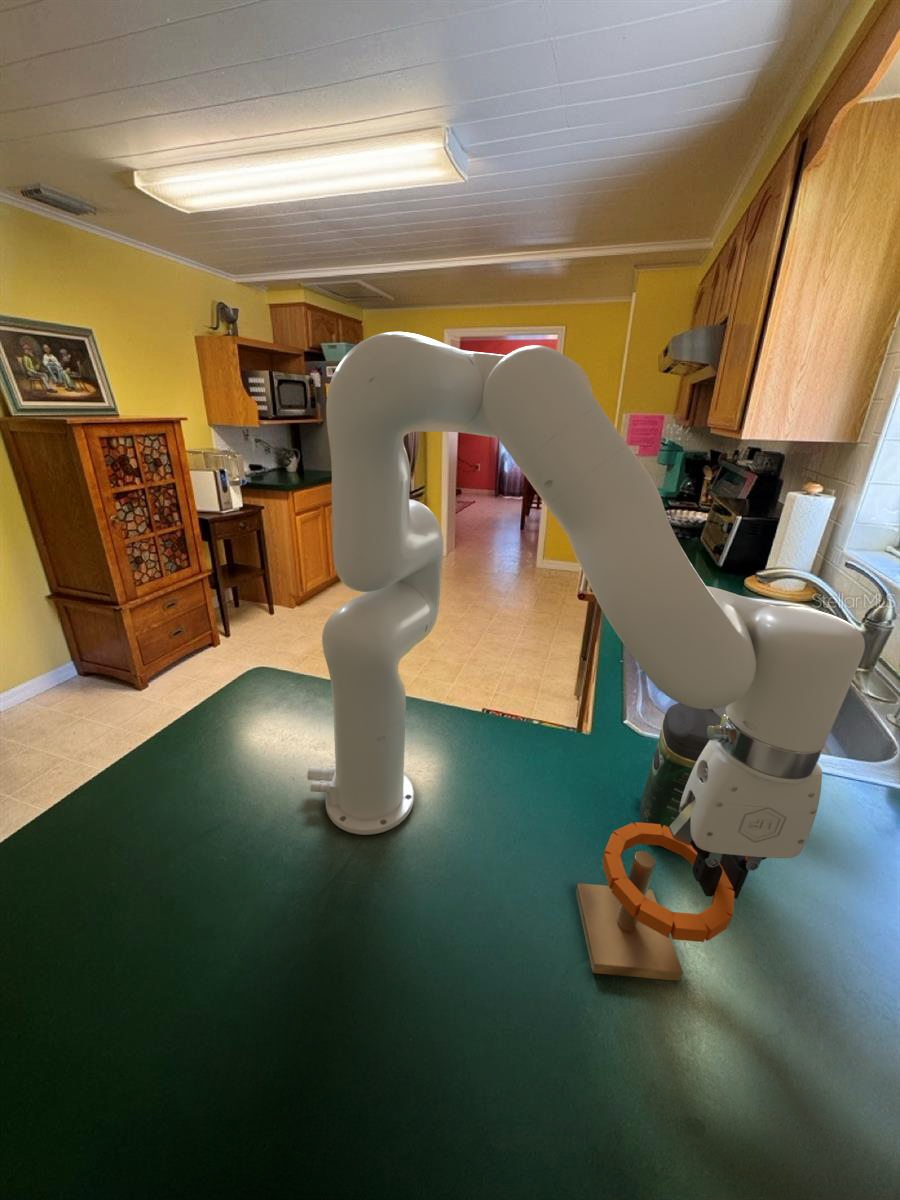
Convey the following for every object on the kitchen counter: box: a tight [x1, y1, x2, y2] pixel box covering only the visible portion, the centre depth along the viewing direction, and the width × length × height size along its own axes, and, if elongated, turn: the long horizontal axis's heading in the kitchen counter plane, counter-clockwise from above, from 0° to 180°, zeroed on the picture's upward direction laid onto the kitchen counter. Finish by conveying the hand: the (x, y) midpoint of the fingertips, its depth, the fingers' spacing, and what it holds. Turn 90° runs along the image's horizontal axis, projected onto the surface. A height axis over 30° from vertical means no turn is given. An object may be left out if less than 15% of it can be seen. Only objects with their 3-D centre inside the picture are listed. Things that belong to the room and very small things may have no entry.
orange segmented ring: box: [602, 821, 735, 943], centre depth 49 cm, size 12×12×2 cm
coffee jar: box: [639, 702, 722, 828], centre depth 64 cm, size 10×8×19 cm
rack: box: [575, 850, 684, 982], centre depth 51 cm, size 9×9×12 cm
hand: (714, 883), depth 49 cm, fingers closed on orange segmented ring, 1 cm apart
